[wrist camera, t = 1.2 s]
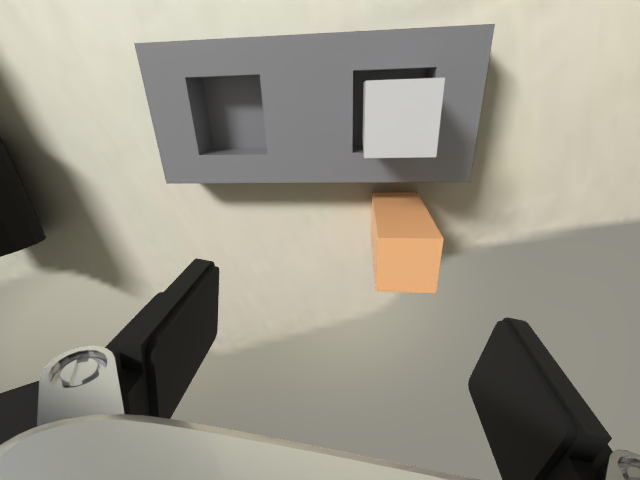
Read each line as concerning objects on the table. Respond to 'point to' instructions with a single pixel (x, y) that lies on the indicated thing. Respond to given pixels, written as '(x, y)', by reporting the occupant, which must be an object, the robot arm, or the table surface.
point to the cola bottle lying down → (15, 210)
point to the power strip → (319, 105)
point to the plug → (404, 244)
